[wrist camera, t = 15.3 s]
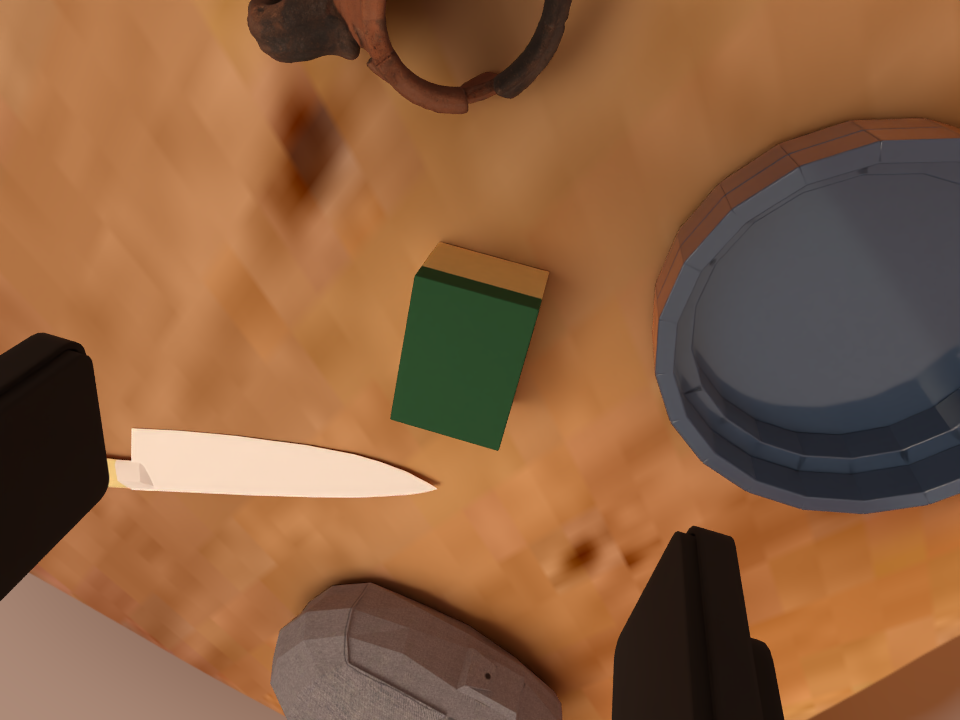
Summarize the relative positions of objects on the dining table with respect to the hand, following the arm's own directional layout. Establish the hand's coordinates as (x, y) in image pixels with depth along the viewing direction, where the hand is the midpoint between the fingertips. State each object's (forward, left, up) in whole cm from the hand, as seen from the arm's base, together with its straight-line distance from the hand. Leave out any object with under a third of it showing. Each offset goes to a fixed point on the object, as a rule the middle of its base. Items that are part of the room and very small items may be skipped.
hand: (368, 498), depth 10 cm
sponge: (+9, +2, -23) cm, 24 cm away
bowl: (-2, +15, -23) cm, 27 cm away
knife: (+29, -8, -23) cm, 37 cm away
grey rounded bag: (+34, +13, -23) cm, 43 cm away
